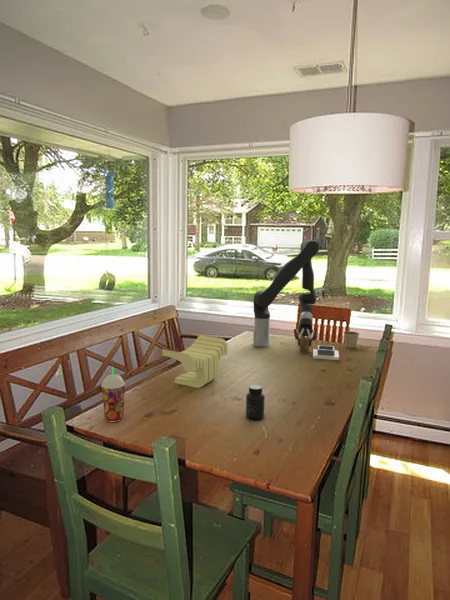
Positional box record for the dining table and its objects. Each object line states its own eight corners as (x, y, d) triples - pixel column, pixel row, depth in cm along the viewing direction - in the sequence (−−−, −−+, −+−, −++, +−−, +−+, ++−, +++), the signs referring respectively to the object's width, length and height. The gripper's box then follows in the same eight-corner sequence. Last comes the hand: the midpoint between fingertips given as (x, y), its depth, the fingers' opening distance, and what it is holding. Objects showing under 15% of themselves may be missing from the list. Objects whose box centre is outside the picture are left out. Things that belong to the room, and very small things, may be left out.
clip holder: (312, 358, 238) (313, 350, 237) (313, 351, 251) (313, 343, 250) (339, 360, 235) (339, 352, 234) (337, 353, 248) (338, 345, 247)
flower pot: (339, 345, 264) (339, 332, 263) (351, 344, 268) (352, 330, 267) (349, 349, 256) (350, 335, 254) (361, 348, 260) (362, 334, 258)
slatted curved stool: (193, 395, 182) (193, 354, 180) (162, 388, 190) (162, 349, 187) (227, 375, 208) (227, 339, 206) (199, 369, 216) (199, 335, 213)
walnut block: (299, 352, 249) (300, 338, 247) (300, 350, 253) (300, 337, 251) (308, 353, 248) (309, 339, 246) (308, 351, 252) (309, 337, 250)
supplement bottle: (252, 412, 166) (253, 382, 164) (267, 417, 162) (268, 386, 160) (242, 417, 161) (242, 387, 159) (257, 423, 157) (257, 391, 155)
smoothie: (116, 412, 164) (115, 362, 161) (130, 419, 159) (129, 366, 156) (97, 420, 158) (95, 367, 155) (111, 426, 153) (110, 372, 149)
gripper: (293, 316, 256) (291, 341, 246) (318, 318, 253) (317, 343, 243) (294, 323, 262) (292, 348, 252) (318, 325, 259) (317, 349, 249)
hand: (304, 345), depth 248 cm, fingers closed on walnut block, 5 cm apart
